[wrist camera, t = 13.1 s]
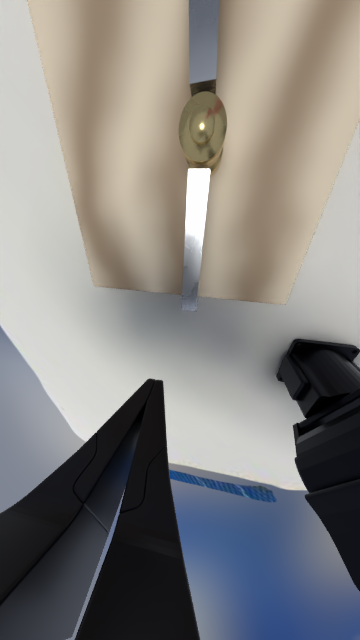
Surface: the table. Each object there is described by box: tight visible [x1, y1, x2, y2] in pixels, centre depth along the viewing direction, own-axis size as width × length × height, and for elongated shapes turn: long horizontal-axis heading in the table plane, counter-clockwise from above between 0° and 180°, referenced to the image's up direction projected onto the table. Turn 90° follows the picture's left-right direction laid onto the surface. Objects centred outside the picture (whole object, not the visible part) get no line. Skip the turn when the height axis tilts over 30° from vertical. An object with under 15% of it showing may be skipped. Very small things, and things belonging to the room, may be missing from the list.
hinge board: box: [27, 0, 360, 305], centre depth 12 cm, size 20×22×1 cm
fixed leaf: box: [179, 91, 227, 311], centre depth 12 cm, size 11×2×4 cm, turn 178°
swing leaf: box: [189, 0, 220, 169], centre depth 8 cm, size 11×2×4 cm, turn 3°
